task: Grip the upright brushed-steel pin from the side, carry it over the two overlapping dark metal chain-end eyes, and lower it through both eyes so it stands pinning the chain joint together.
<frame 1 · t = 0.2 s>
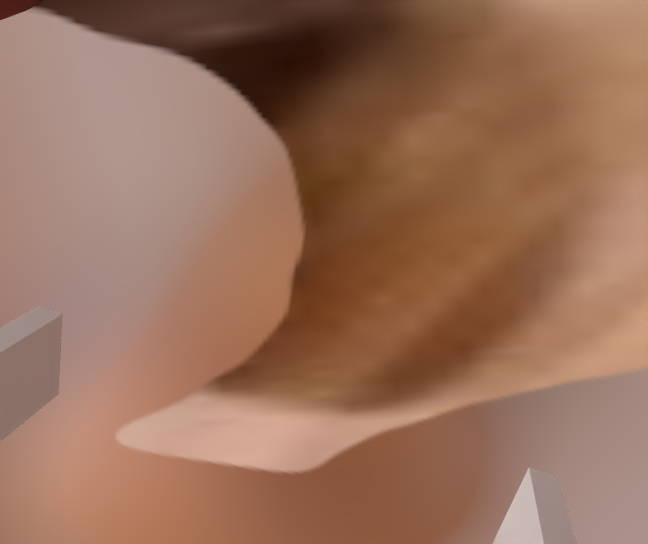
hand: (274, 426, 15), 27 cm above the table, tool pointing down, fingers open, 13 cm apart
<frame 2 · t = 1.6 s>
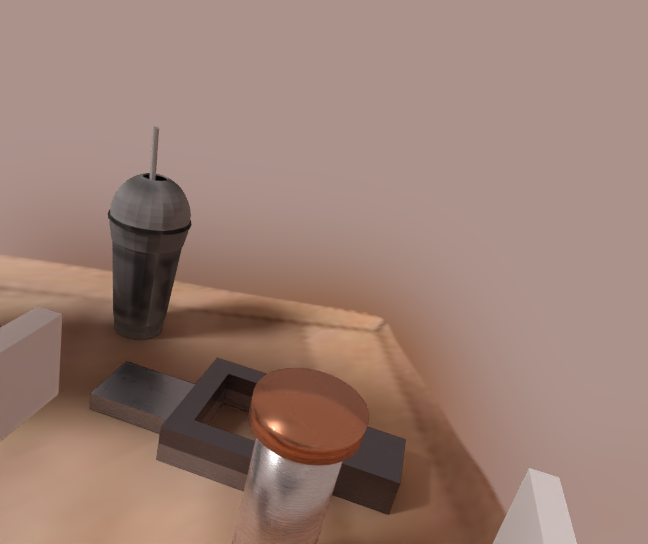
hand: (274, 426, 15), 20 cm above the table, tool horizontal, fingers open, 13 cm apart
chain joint: (245, 439, 43), on the table
beverage cup: (138, 328, 54), on the table
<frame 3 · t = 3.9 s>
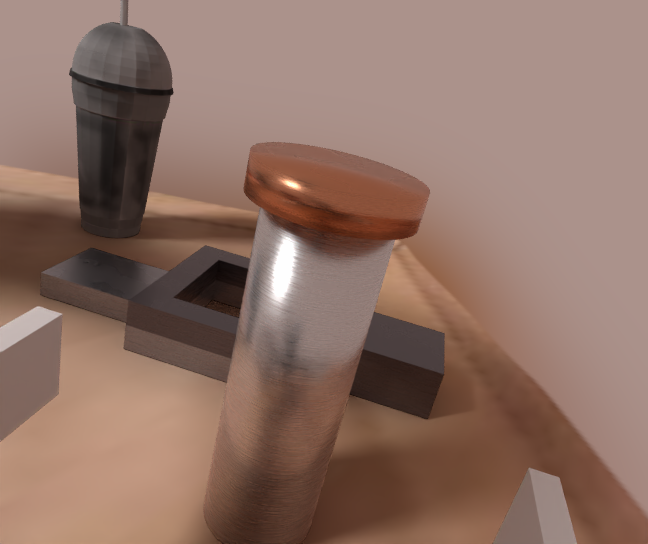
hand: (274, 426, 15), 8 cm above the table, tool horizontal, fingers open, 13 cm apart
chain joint: (240, 335, 34), on the table
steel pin: (258, 508, 22), on the table
beverage cup: (110, 229, 45), on the table
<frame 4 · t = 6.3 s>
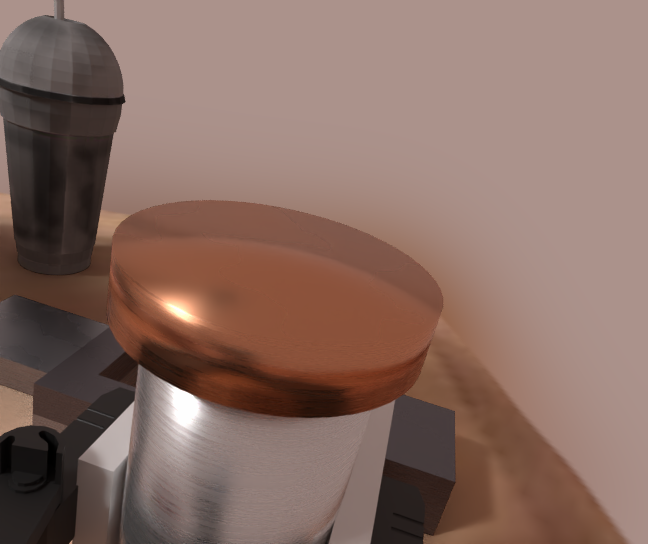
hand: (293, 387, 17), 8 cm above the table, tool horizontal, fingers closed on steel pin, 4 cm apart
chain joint: (195, 412, 27), on the table
beverage cup: (55, 263, 38), on the table
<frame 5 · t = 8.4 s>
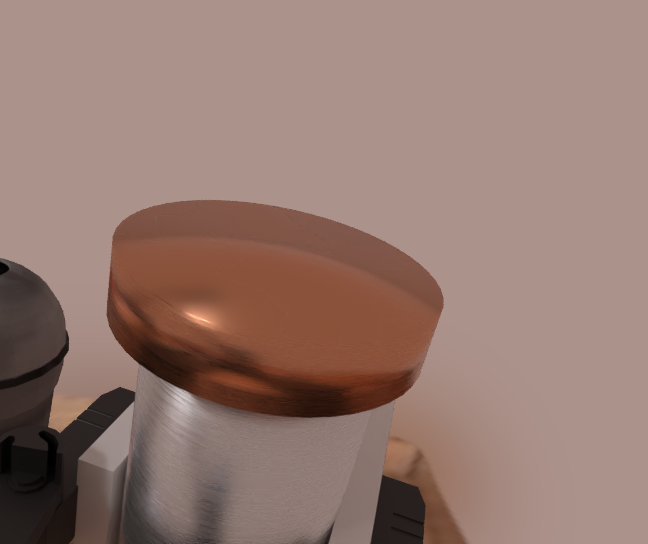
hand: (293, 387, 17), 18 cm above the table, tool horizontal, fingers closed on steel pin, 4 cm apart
when the fingers open (9 cm above the table, at t = 10.6 s): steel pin stays where it is, resting in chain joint.
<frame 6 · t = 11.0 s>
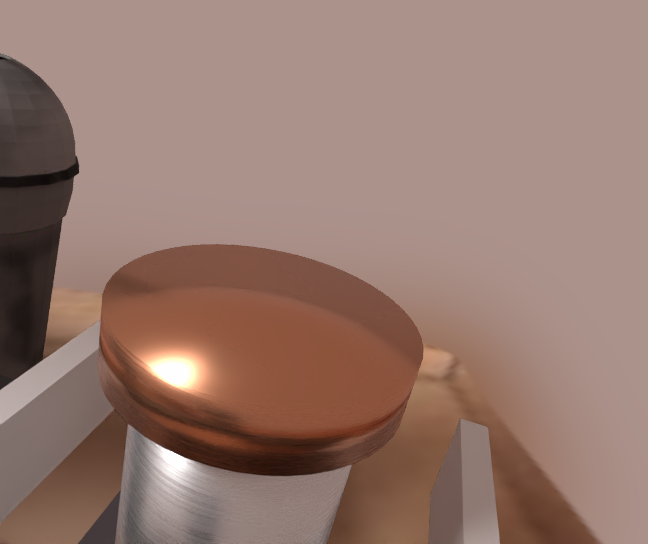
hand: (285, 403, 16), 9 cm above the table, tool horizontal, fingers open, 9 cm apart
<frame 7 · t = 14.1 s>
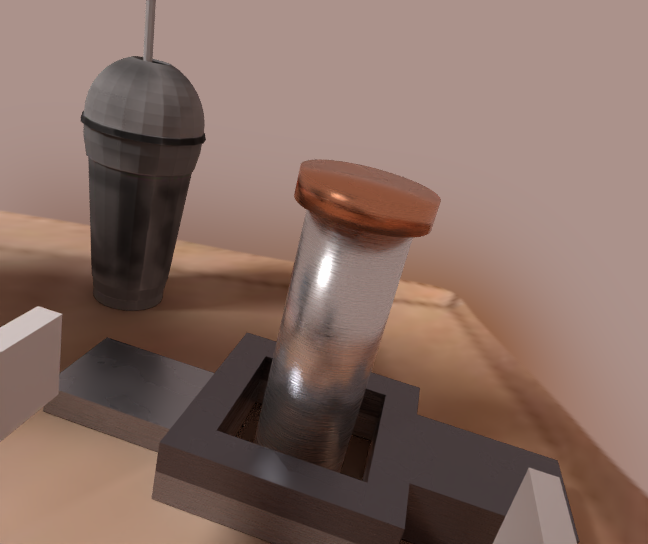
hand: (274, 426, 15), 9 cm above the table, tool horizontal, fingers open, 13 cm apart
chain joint: (296, 460, 27), on the table
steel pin: (295, 460, 27), resting in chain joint
beverage cup: (128, 296, 38), on the table
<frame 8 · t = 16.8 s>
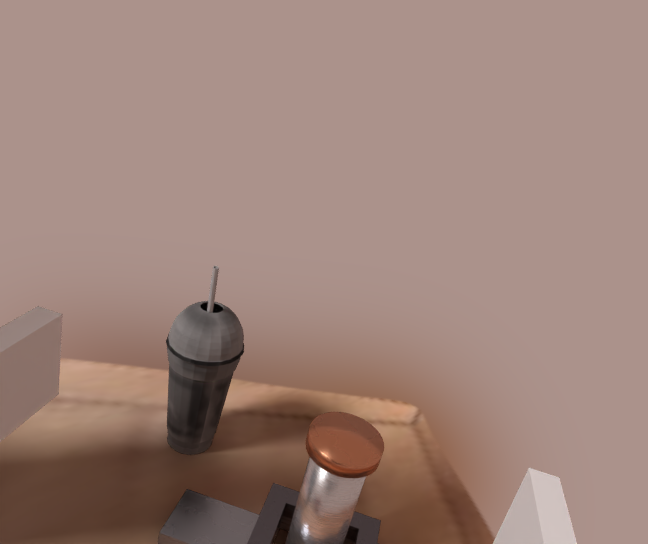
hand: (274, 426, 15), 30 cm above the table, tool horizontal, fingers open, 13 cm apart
beverage cup: (189, 440, 56), on the table
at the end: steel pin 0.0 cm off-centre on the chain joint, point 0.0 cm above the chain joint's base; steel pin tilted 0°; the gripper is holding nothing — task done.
